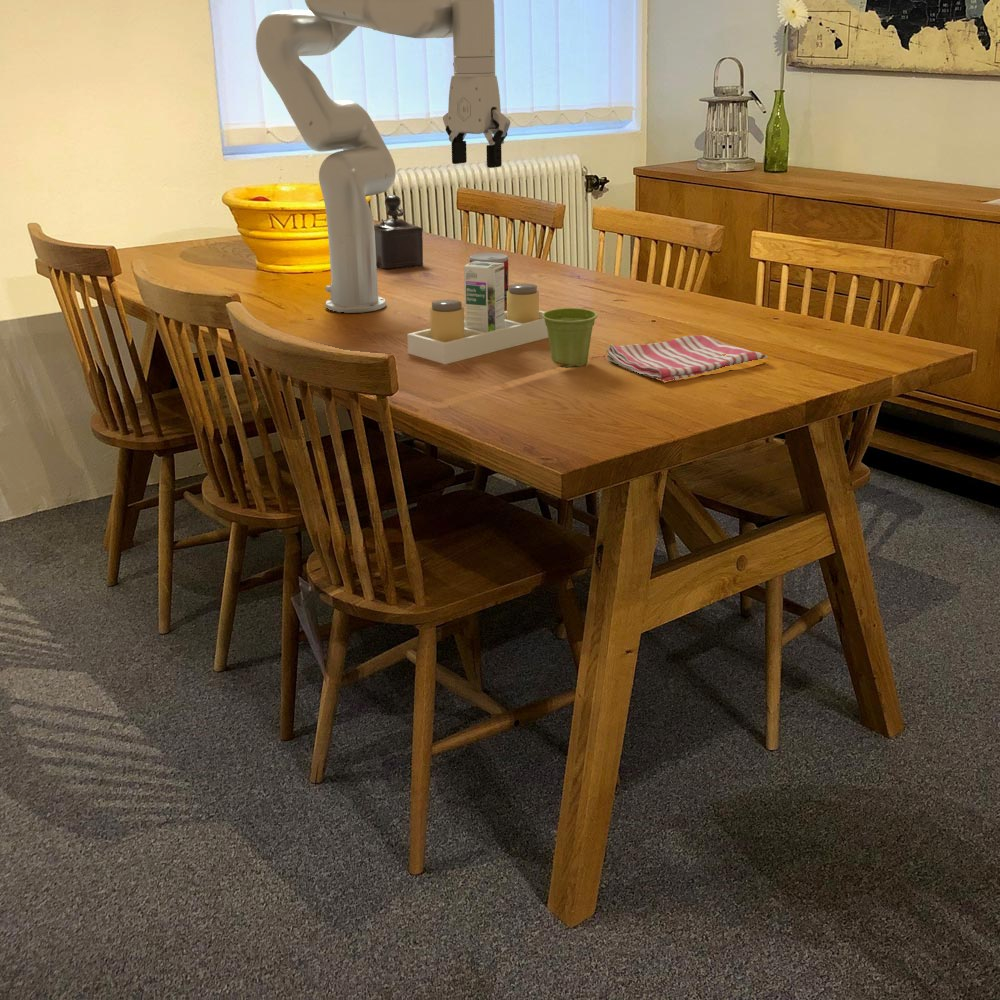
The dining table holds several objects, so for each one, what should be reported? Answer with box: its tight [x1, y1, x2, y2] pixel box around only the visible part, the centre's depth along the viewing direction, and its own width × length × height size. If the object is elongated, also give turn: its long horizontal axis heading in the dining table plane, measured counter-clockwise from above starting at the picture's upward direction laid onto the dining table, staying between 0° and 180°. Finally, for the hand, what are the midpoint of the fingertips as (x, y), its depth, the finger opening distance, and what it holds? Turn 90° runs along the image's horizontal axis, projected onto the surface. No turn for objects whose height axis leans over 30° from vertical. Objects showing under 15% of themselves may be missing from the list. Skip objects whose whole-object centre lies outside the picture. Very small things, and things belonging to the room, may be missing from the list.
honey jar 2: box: [506, 282, 540, 323], centre depth 214 cm, size 6×6×9 cm
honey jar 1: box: [429, 299, 465, 342], centre depth 202 cm, size 6×6×9 cm
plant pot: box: [542, 307, 598, 368], centre depth 198 cm, size 9×9×9 cm
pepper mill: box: [374, 194, 424, 270], centre depth 279 cm, size 16×11×18 cm
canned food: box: [468, 252, 509, 309], centre depth 236 cm, size 8×8×11 cm
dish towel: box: [606, 335, 768, 381], centre depth 199 cm, size 17×23×4 cm
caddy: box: [406, 310, 549, 365], centre depth 209 cm, size 10×29×4 cm, turn 133°
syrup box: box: [463, 261, 505, 333], centre depth 207 cm, size 6×6×14 cm
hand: (476, 165), depth 215 cm, fingers open, 9 cm apart
